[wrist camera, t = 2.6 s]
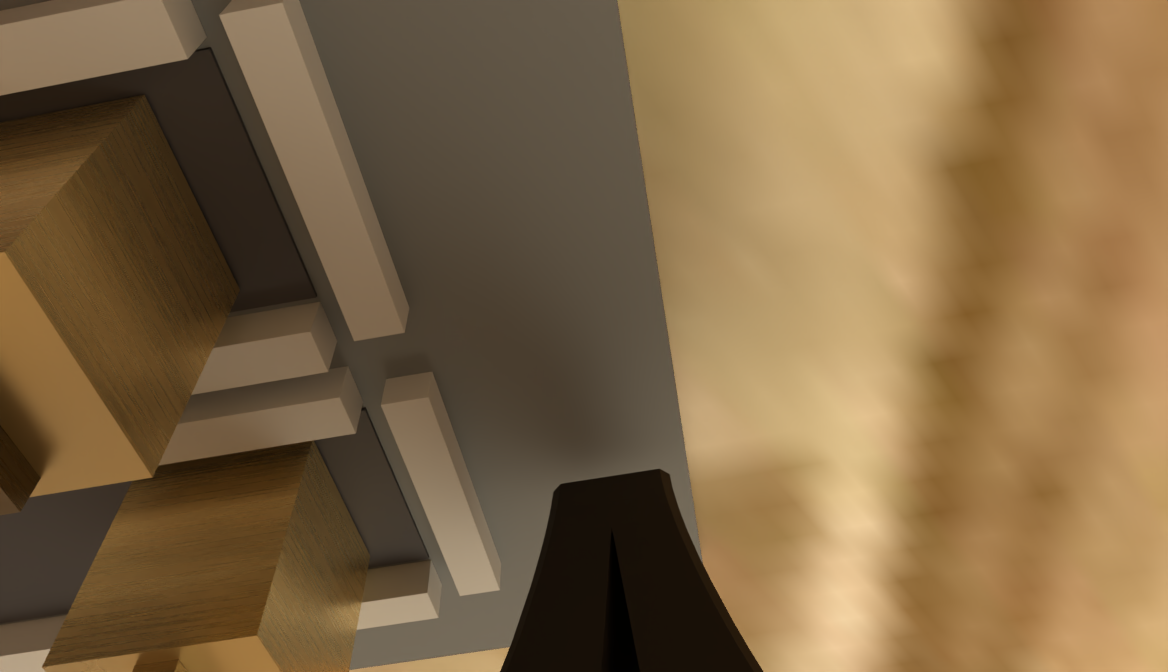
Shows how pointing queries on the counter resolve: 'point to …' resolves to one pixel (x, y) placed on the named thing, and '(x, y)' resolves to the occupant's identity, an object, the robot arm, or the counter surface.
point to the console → (385, 281)
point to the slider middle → (98, 298)
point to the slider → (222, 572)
